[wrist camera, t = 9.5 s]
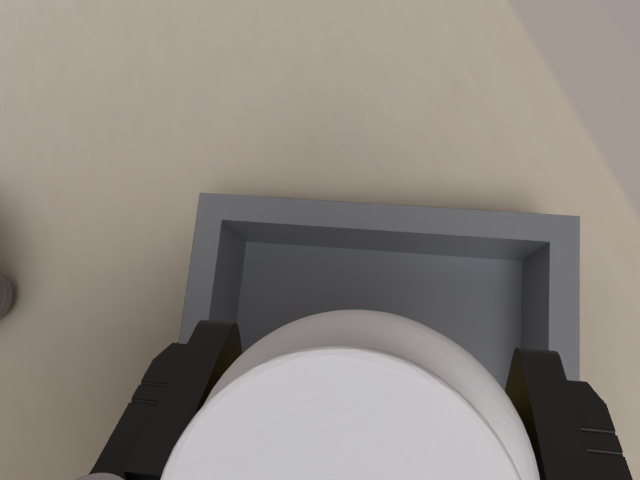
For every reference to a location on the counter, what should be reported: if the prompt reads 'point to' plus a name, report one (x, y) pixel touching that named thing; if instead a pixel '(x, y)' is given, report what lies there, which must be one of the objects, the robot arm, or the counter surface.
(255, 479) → the supplement bottle
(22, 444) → the counter surface
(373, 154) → the counter surface
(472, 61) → the counter surface
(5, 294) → the lightbulb
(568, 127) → the counter surface
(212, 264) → the tote
